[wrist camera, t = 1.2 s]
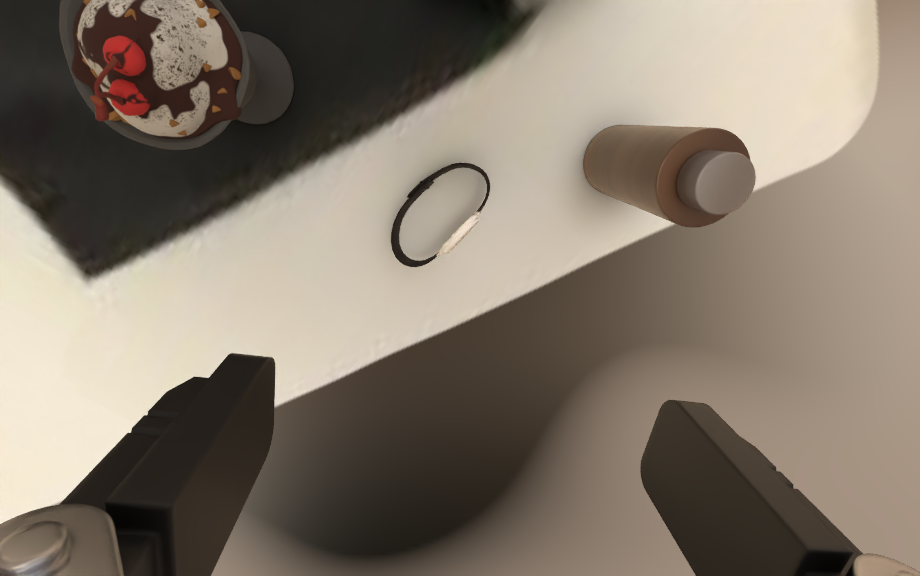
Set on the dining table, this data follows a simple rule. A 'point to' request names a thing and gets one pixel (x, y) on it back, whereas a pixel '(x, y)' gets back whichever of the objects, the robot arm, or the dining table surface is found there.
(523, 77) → the dining table surface
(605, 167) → the pepper mill
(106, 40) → the sundae
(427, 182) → the watch
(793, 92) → the dining table surface
